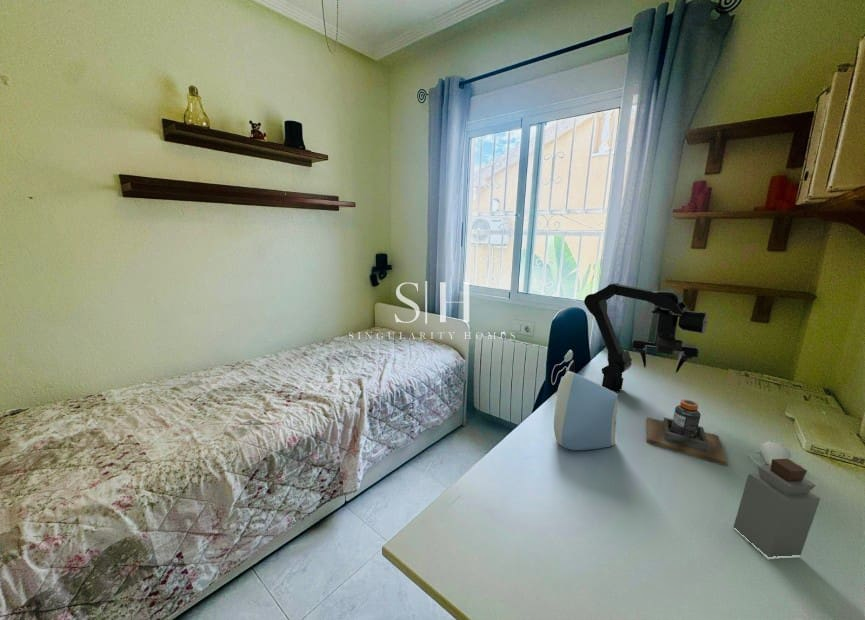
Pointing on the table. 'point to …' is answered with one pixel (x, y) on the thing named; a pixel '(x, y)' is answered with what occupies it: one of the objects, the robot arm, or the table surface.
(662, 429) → the socket plate
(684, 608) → the table surface
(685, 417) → the pill bottle
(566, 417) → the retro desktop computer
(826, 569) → the table surface
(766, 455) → the woman figurine
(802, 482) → the perfume bottle
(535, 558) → the table surface
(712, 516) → the table surface
